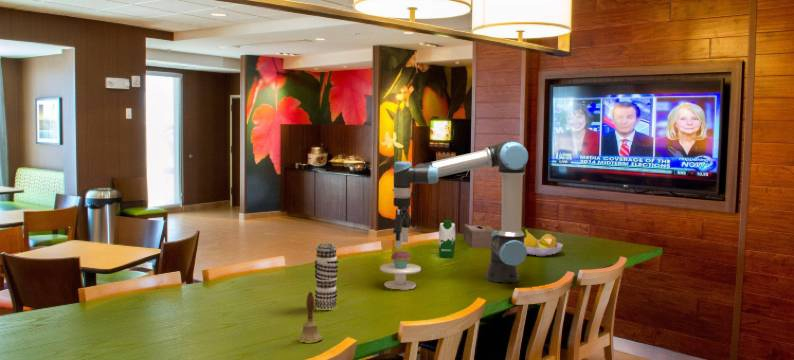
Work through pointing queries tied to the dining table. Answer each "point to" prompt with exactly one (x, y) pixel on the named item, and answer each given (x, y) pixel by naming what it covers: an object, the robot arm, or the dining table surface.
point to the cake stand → (400, 276)
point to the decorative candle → (326, 276)
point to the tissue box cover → (478, 235)
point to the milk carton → (447, 239)
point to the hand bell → (310, 322)
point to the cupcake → (400, 258)
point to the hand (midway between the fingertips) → (401, 245)
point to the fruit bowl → (541, 245)
